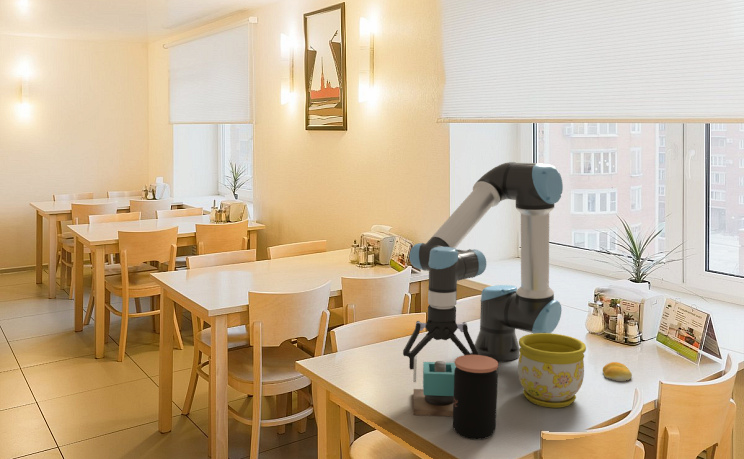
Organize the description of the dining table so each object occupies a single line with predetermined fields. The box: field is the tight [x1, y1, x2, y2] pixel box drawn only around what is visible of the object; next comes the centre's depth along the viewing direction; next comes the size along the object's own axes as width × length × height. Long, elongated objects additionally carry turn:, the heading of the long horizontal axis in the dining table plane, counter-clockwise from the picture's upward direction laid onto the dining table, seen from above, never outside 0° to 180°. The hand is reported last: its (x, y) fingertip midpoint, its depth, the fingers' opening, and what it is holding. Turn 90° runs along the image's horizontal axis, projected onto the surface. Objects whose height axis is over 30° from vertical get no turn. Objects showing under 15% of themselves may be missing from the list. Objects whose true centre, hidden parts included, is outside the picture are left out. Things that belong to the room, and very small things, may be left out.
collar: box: [422, 361, 456, 396], centre depth 179 cm, size 9×9×6 cm
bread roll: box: [602, 361, 633, 382], centre depth 203 cm, size 8×9×4 cm
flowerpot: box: [517, 332, 587, 409], centre depth 184 cm, size 18×18×16 cm
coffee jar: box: [452, 354, 499, 440], centre depth 164 cm, size 11×11×18 cm
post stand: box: [412, 360, 454, 417], centre depth 179 cm, size 14×14×12 cm
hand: (439, 381), depth 179 cm, fingers open, 13 cm apart
